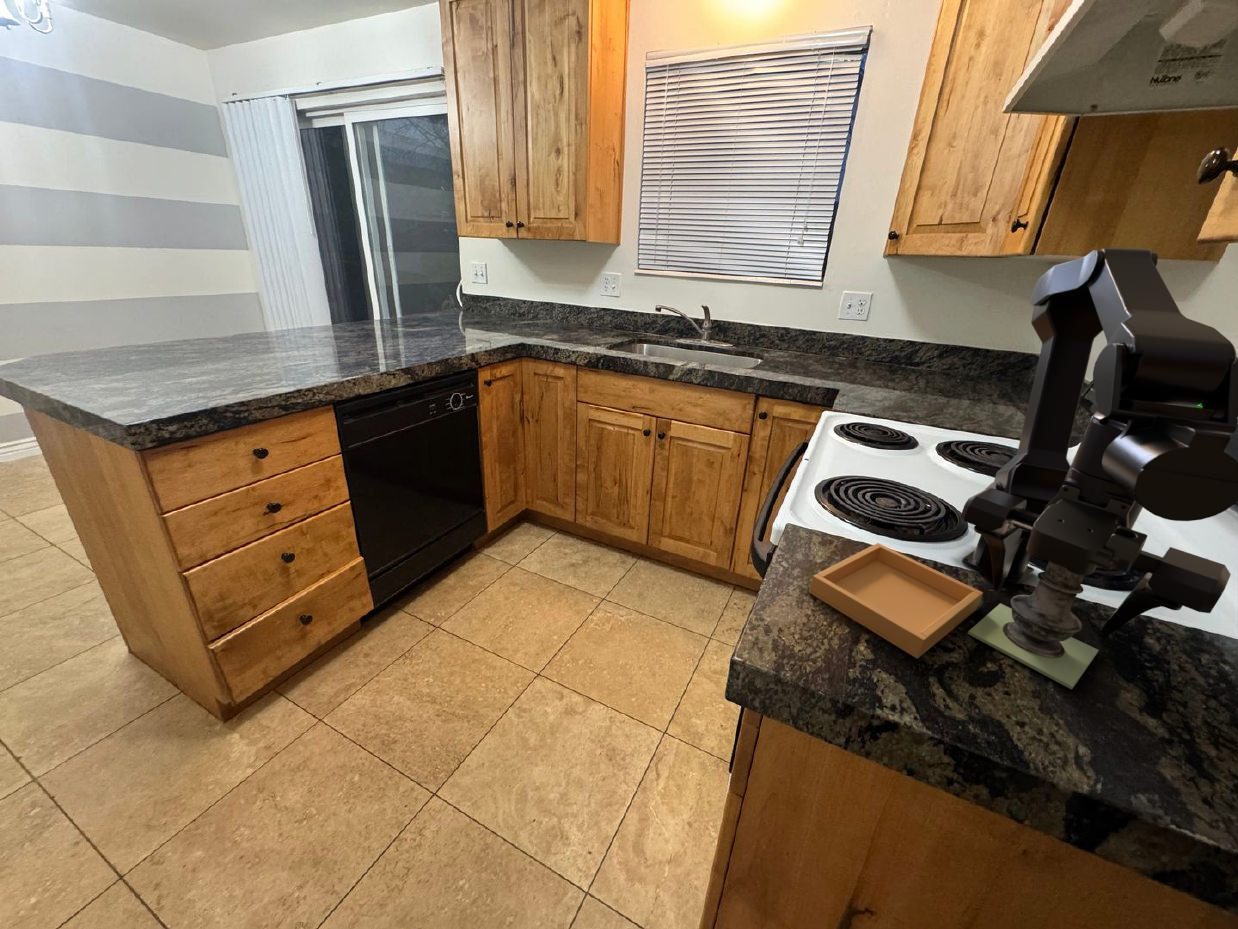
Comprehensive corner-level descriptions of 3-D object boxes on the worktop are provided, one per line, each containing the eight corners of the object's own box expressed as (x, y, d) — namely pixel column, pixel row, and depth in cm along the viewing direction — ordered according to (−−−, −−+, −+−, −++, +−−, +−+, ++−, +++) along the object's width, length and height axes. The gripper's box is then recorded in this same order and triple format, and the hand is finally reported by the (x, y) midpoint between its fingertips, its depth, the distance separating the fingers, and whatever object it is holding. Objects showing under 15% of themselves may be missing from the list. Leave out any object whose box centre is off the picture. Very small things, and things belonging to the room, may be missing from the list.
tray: (873, 557, 67) (877, 542, 66) (976, 609, 58) (983, 592, 57) (808, 592, 59) (812, 575, 58) (917, 659, 50) (924, 640, 49)
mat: (999, 606, 59) (1000, 603, 59) (1097, 653, 52) (1099, 650, 52) (967, 633, 54) (968, 631, 54) (1071, 690, 47) (1073, 686, 47)
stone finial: (1075, 668, 49) (1130, 566, 45) (1004, 646, 52) (1048, 547, 47) (1059, 633, 54) (1107, 538, 49) (995, 614, 56) (1035, 521, 52)
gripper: (962, 455, 48) (916, 589, 54) (1259, 544, 34) (1153, 710, 40) (1006, 438, 54) (960, 560, 60) (1271, 507, 40) (1178, 656, 46)
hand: (1045, 611), depth 51 cm, fingers open, 8 cm apart
